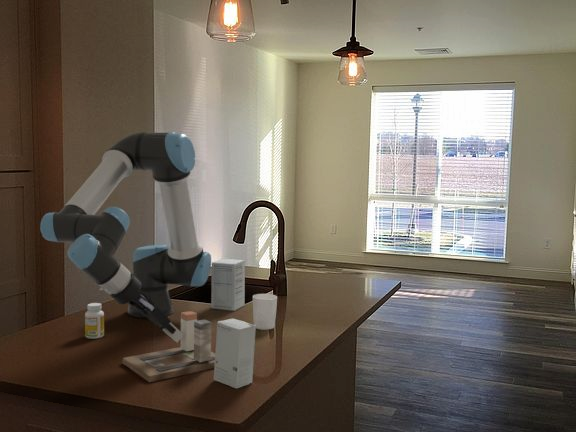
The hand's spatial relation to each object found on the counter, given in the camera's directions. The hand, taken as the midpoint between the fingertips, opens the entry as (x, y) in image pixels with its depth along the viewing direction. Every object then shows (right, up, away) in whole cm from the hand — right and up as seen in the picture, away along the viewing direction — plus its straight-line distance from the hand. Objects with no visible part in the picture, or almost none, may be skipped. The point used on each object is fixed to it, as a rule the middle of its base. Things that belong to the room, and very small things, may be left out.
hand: (179, 337), depth 168 cm
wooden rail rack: (0, -6, -5) cm, 8 cm away
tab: (+2, -3, +2) cm, 5 cm away
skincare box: (+16, -8, -16) cm, 24 cm away
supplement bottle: (-28, -3, +18) cm, 34 cm away
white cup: (+22, -3, +32) cm, 39 cm away
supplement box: (+8, 0, +57) cm, 57 cm away
